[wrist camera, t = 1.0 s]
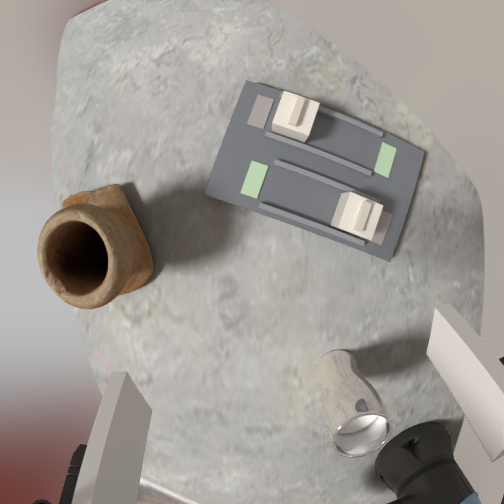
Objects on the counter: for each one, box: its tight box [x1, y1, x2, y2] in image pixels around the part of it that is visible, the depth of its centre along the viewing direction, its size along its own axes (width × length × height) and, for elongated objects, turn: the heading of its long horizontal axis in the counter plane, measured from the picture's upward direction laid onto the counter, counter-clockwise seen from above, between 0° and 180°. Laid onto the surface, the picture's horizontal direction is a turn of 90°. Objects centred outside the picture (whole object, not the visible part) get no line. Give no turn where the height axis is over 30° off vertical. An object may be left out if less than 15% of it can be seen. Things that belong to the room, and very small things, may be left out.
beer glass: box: [315, 350, 393, 458], centre depth 33 cm, size 7×7×15 cm
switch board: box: [204, 80, 424, 262], centre depth 35 cm, size 24×15×3 cm, turn 71°
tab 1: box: [271, 91, 320, 143], centre depth 31 cm, size 4×4×5 cm
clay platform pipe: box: [37, 184, 153, 309], centre depth 31 cm, size 15×12×15 cm
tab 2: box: [330, 192, 383, 240], centre depth 33 cm, size 4×4×5 cm
